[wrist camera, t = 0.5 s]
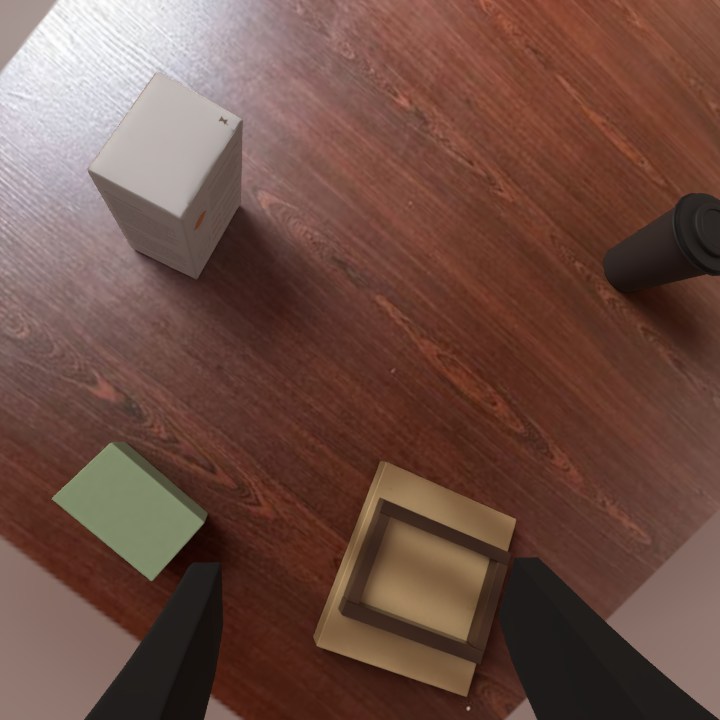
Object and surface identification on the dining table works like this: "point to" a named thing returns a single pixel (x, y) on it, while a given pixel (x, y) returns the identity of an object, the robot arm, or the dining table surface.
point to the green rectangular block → (132, 508)
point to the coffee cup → (669, 247)
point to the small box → (172, 174)
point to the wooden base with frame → (418, 581)
